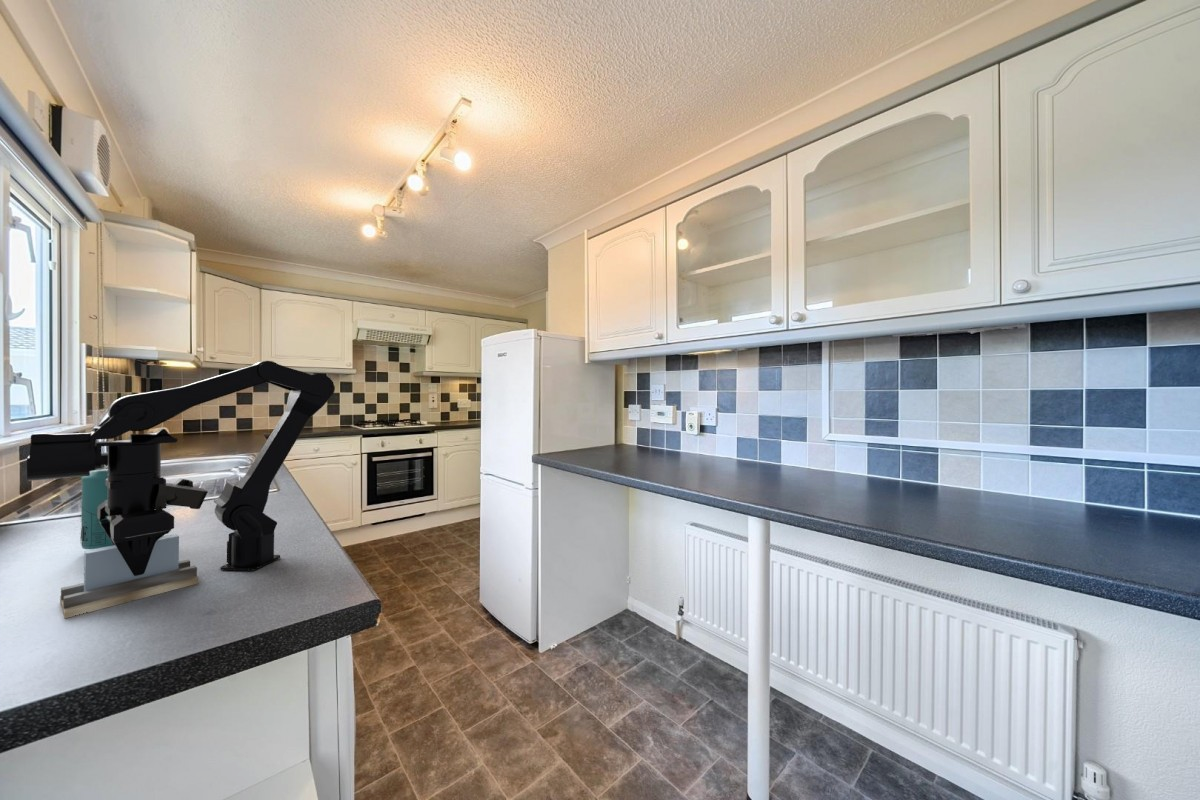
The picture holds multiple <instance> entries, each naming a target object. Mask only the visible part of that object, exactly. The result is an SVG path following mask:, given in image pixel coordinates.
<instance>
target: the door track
mask: <svg viewBox="0 0 1200 800" xmlns="http://www.w3.org/2000/svg"><path fill="white" fill-rule="evenodd" d="M199 579H200V577H199V576H198V566H196V565H191V560H190V559H189V558H188V559H184V560H179V569H177V570H173V571H169V572H165V573H160V574H156V575H152V576H148V577H143V578H139V579H135V580H131V581H126V582H122V583H118V584H114V585H109V586H105V587H101V588H97V589H92V590H88V591H84V582H82V583H77V584H73V585H69V586H64V587H61V588H60V595H59V602H60V607H61V610H63V611H62V614H63V618H64V619H67V618H71V617H76V616H80V615H83V613H84V614H87V613H86V612H88V613H91V612H96V611H98V610H102V609H106V608H110V607H115V606H118V605H122V604H126V603H128V602H133V601H136V600H140V599H144V598H148V597H152V596H155V595H159V594H164V593H167V592H170V591H171V592H172V591H174V590H179V589H183V588H186V587H189V586H194V585H198V584H200V583H199V582H200V581H199ZM132 600H133V601H132ZM79 614H80V615H79ZM75 615H76V616H75Z"/></svg>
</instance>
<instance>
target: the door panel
mask: <svg viewBox="0 0 1200 800" xmlns="http://www.w3.org/2000/svg"><path fill="white" fill-rule="evenodd" d="M179 551H180V536H179V535H178V534H177V533H174V534H169V535H168V534H166V535H164V536H162V537H161V538H160V539H158V540H157V541H156V543H155V545H154V548H153V551H152V553H151V556H150V559H149V562H148V565H147V567H146V570H145V573H144V574H142V575H138V576H134V575H133V574H132V572H131V570H130V569H129V567H128V565H127V564H126V562H125V560H124V559H123V557H122V555H121V554H120V552H119V550H118V549H117V547H116V546H115V545H113V546H107V547H102V548H97V549H85V550H84V553H83V555H84V563H83V583H84V591H88V590H92V589H97V588H101V587H105V586H109V585H114V584H118V583H122V582H126V581H131V580H135V579H139V578H143V577H148V576H152V575H156V574H160V573H165V572H169V571H173V570H177V569H179V561H180V560H179V557H180V556H179V555H180V552H179Z"/></svg>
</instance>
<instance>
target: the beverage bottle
mask: <svg viewBox="0 0 1200 800" xmlns="http://www.w3.org/2000/svg"><path fill="white" fill-rule="evenodd" d="M106 465H107V466H108V452H105V453H102V452H101V466H106ZM80 479H81V480H80V481H81V499H80V503H81V504H79V506H80V508H81V510H80V511H81V512H80V514H79V515H80V516H79V517H80V518H79V520H80V523H81V526H80V538H79V539H80V544H79V545H81V548H82V549H83V550H91V549H97V548H102V547H107V546H113V543H112V542H111V540H110V539H109V537H108V535H107V534H106V532H105V530H104V529H103V527H102V526H101V524H100V522H99V521H100V520H99V519H98V517H97V508H98V506H99V505H100V504H101V503H103V502H104V501H105V500H107V491H108V487H107V486H106V485H105V484H106V479H108V468H105V469H95V470H94V471H90V476H82V477H80ZM105 519H107V516H105ZM105 519H103V520H105Z"/></svg>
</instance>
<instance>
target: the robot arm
mask: <svg viewBox="0 0 1200 800" xmlns="http://www.w3.org/2000/svg"><path fill="white" fill-rule="evenodd" d="M264 383H266V384H271V385H273V386H275V387H279V388H281V389H284V390H286V391H289V393H288V397H287V401H286V407H285V410H284V412H283V414H282V415H281V417H280V419H278V422H277V424H276V425H275V426H274V428H273V430H272V432H271V433H270V434H269V437H268V438H267V440H266V441H265V443H264V444H263V446H262V448H261V450H260V451H259V452H258V454H257V455H256V457H255V459H254V460H253V462H252V464H251V466H249V469H248V471H247V472H246V473H245V475H244V476H243V477H242V478H240V479H239V480H238V481H237V482H236V483H232V482H230V481H226V483H225V485H224V487H223V488H222V491H221V493H220V495H219V496H218V497H216V498H215V499H214V500H213V503H214V504H216V506H215V508H214V514H215V517H216V519H217V520H218V521H220V522H221V524H223V526H225V527H226V528H227V529H230V530H231V531H232V532H230V533H228V540H227V541H226V563H225V564H223V565H221V566H220V567H219V570H222V571H224V570H225V571H250V572H251V571H255V570H258V569H260V568H262V567H264V566H266V565H268V564H270V563H272V562H275V561H276V560H278V559H280V558H281V554H275V530H276V527H277V525H278V521H276V520H274V519H273V518H271V517H270V516H269V515H267V514H266V513H264V510H265V508H266V505H267V502H268V499H269V493H270V488H271V484H272V482H273V481H274V479H275V478H276V475H277V474H278V473H279V470H281V467H282V465H283V464H284V462H285V460H286V458H287V457H288V455H289V453H290V452H291V450H292V448H293V446H294V445H295V444H296V441H297V440H298V439H299V437H300V435H301V433H302V432H303V430H304V428H305V426H306V425H307V423H308V421H309V420H310V419H311V418H312V417H313V416H314V415H315V414H316V413H318V412H319V411H320V410H321V409H322V408H323V407H324V405H326V403H327V402H329V400H330V399H331V397H333V395H334V393H335V390H336V386H335V384H334V382H333V380H332V379H331V378H330V377H329V376H327V374H323V373H307V372H304V371H302V370H297V369H294V368H292V367H289V366H285V365H281V364H279V363H278V362H275V361H273V360H264V361H258V362H256V363H254V364H252V365H249V366H245V367H242V368H238V369H236V370H233V371H229V372H226V373H222V374H218V375H216V376H212V377H210V378H206V379H202V380H199V381H196V382H192V383H189V384H186V385H183V386H178V387H173V388H168V389H161V390H159V389H158V390H154V391H148V392H142V393H135V394H129V395H125V396H122V397H119V398H118V399H114V401H112V402H111V404H110V406H109V408H108V412H107V415H108V417H106V418H105V419H104V420H103V421H102V422H100V423H99V424H98V425H97V426H93V430H91V431H90V432H77V433H75V432H74V433H52V432H51V433H49V432H37V433H32V434H31V435H30V446H29V455H28V456H27V458H26V476H27V477H26V478H27V482H33V481H35V482H36V481H42V480H43V481H44V480H54V479H56V480H57V479H58V480H59V479H68V478H79V477H80V478H82V477H83V476H90V471H94V470H99V469H101V468H102V465H101V453H102V447H108V448H107V453H108V465H107V469H108V479H106V484H105V485H106V486H107V487H108V491H107V500H105V501H104V502H103V503H101V504H100V505H99V506H98V508H97V517H98V519H99V520H100V521H99V522H100V524H101V526H102V527H103V529H104V530H105V532H106V534H107V535H108V537H109V539H110V540H111V542H112V543H113V545H115V546H116V547H117V549H118V550H119V552H120V554H121V555H122V557H123V559H124V560H125V562H126V564H127V565H128V567H129V569H130V570H131V572H132V574H133V575H134V576H138V575H142V574H144V573H145V570H146V567H147V565H148V562H149V559H150V556H151V553H152V551H153V548H154V545H155V543H156V541H157V540H158V539H160V538H161V537H162V536H166V535H168V534H169V533H171V531H172V530H174V529H175V515H173V514H171V513H170V512H168V511H167V510H164V509H167V506H168V505H169V506H174V507H175V506H177V507H185V508H190V509H194V510H200V509H201V508H202V505H203V503H204V501H205V499H206V498H207V494H208V492H209V490H206V489H204V488H203V487H202V488H201V487H199V486H194V483H193V482H194V481H192V480H190V479H186V478H179V479H177V480H176V481H175V482H174V483H173V482H172V483H171V482H169V483H167V479H166V478H165V477H164V476H162V475H161V472H162V471H161V470H162V469H161V468H162V465H161V463H162V461H161V460H162V457H161V456H162V444H173V443H174V444H175V443H177V442H178V441H179V440H178V438H176V437H175V436H172V435H171V434H170V433H169V432H168V431H167V429H165V428H160V429H159V430H158V431H155V433H154V432H152V433H131V434H130V435H129V439H123V440H113V439H115V438H117V437H120V436H122V435H124V434H126V433H128V432H142V431H148V430H150V429H153V428H154V427H157V426H158V425H160V424H162V423H165V422H167V421H168V420H170V419H173V418H174V417H177V416H179V415H180V414H181V413H183V412H185V411H187V410H189V409H191V408H193V407H197V406H199V405H201V404H204V403H207V402H210V401H213V400H216V399H219V398H223V397H226V396H229V395H232V394H234V393H237V392H240V391H243V390H246V389H250V388H252V387H255V386H259V385H261V384H264ZM97 440H103V441H97ZM105 440H106V441H105ZM109 440H110V441H109ZM105 516H107V519H105ZM103 519H105V520H103Z"/></svg>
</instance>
